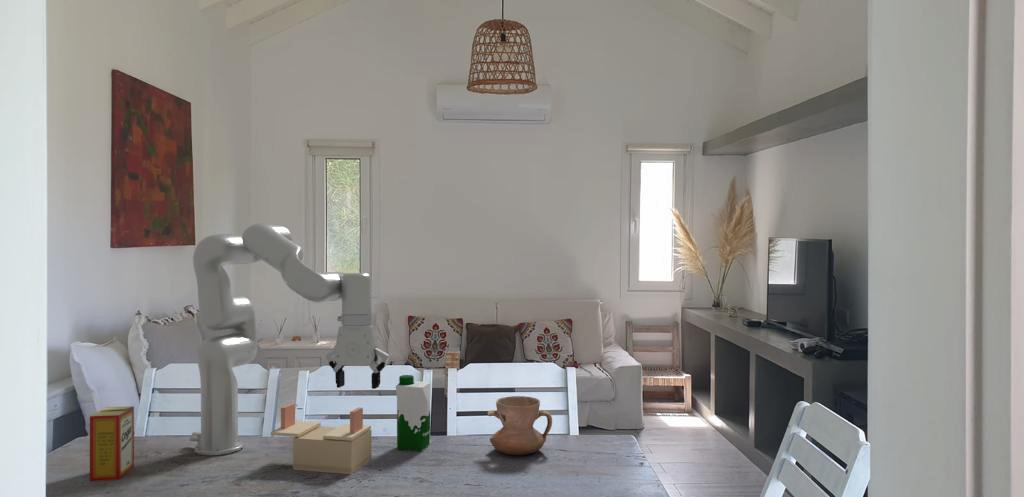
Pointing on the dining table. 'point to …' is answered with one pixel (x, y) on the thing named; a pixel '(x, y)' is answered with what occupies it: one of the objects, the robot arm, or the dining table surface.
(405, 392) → the soya milk
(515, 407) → the ceramic jug
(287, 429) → the flap
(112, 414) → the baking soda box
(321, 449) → the carton
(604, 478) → the dining table surface
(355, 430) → the flap
